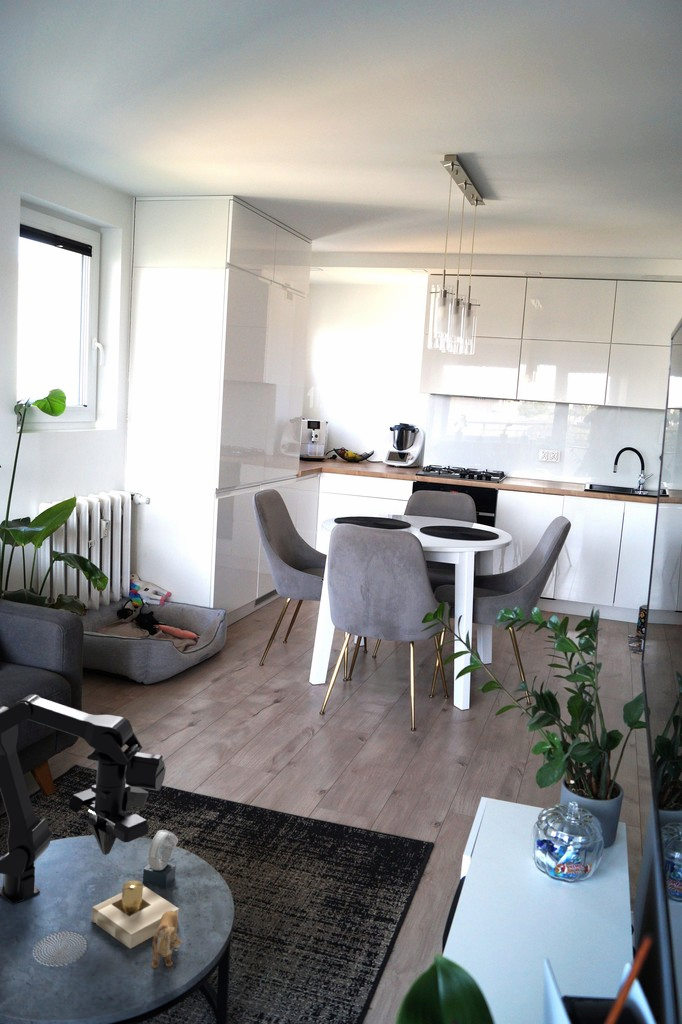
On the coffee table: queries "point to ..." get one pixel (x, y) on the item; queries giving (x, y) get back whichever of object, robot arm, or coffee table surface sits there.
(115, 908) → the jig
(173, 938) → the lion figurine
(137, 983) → the coffee table surface
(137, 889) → the brass cylinder plug
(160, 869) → the watch
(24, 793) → the robot arm
